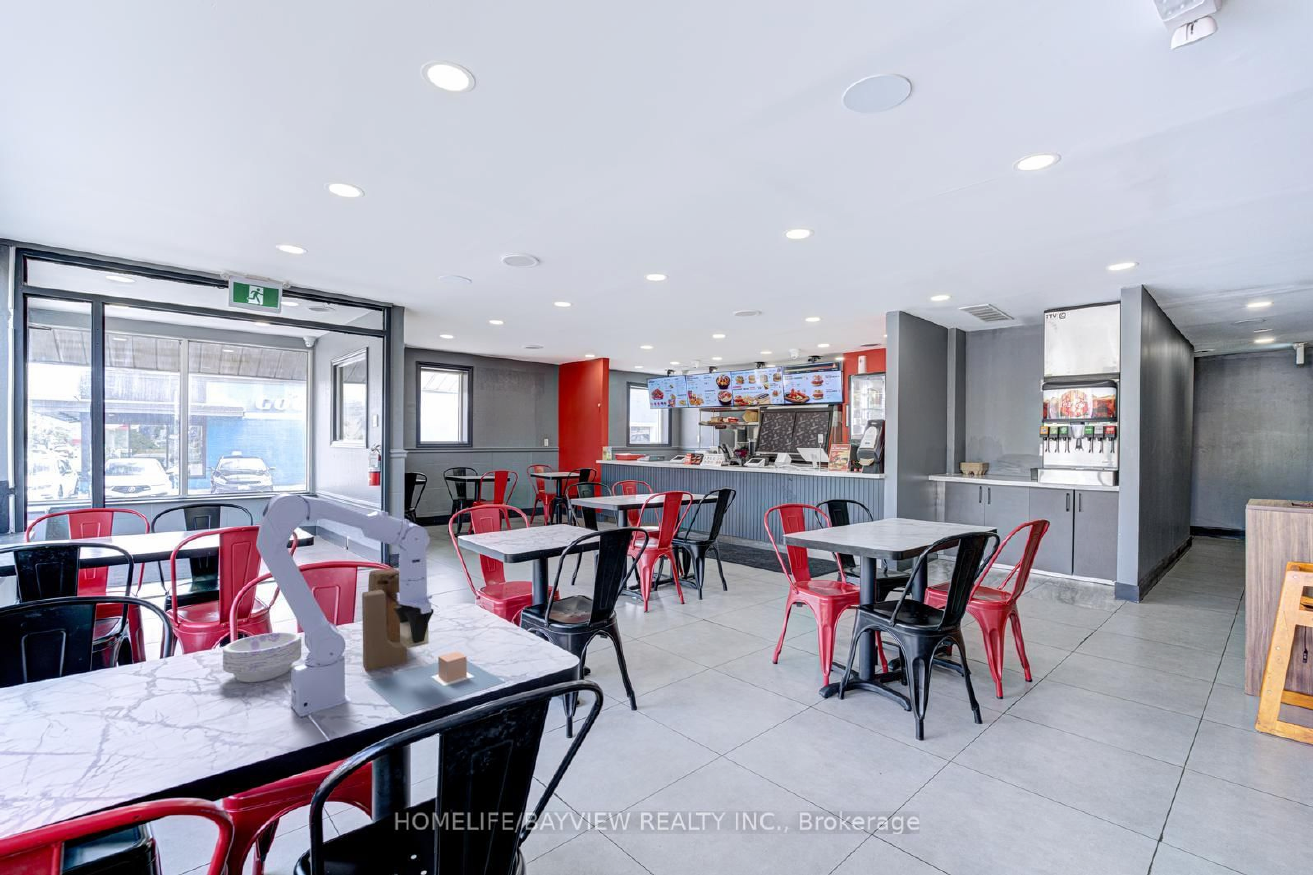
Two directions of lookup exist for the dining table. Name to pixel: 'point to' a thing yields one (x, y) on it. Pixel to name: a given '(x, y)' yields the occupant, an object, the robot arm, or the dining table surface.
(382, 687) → the board
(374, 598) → the wooden block
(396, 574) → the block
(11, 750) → the dining table surface
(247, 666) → the paper bowls
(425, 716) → the dining table surface
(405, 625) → the maple block
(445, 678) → the terracotta block
